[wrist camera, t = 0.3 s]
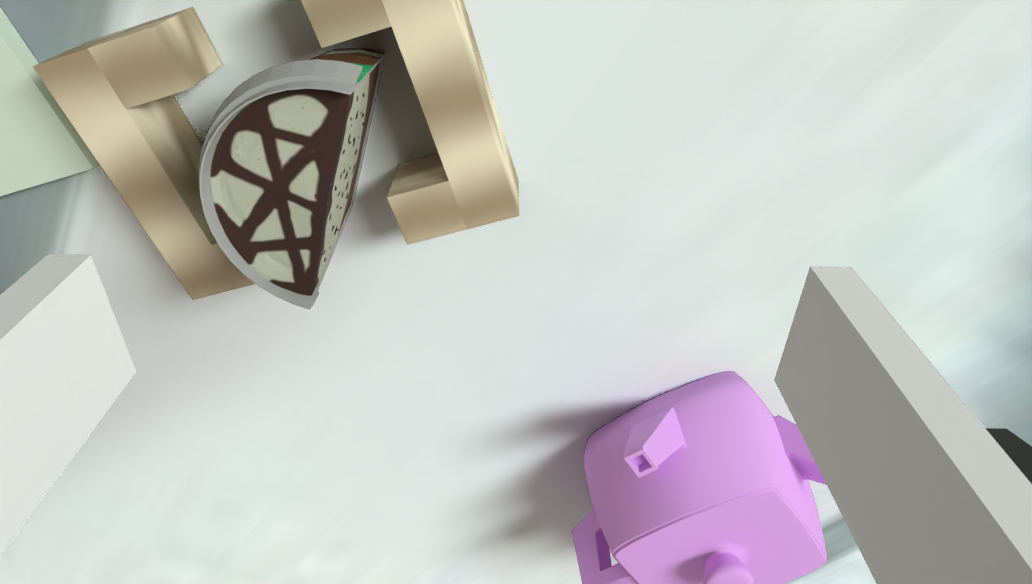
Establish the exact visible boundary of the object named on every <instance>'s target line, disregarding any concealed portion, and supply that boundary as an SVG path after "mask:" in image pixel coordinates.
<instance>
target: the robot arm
mask: <svg viewBox="0 0 1032 584" xmlns="http://www.w3.org/2000/svg"><path fill="white" fill-rule="evenodd" d="M136 372H137V371H136V369H135V366H134V364H133V361H132V358H131V356H130V353H129V351H128V348H127V346H126V343H125V341H124V338H123V336H122V333H121V330H120V328H119V325H118V323H117V320H116V318H115V315H114V313H113V310H112V308H111V305H110V302H109V300H108V297H107V295H106V292H105V290H104V287H103V285H102V282H101V280H100V277H99V274H98V272H97V269H96V267H95V264H94V262H93V259H92V257H91V255H59V254H48V255H47V256H46V257H44V258H43V259H42V260H41V261H40V262H39V263H37V264H36V265H35V266H34V267H33V268H31V269H30V270H29V271H28V272H27V273H26V274H24V275H23V276H22V277H21V278H20V279H19V280H17V281H16V282H15V283H14V284H13V285H12V286H10V287H9V288H8V289H7V290H6V291H4V292H3V293H2V294H1V295H0V557H1V556H2V554H3V553H4V552H5V550H6V549H7V547H8V546H9V545H10V543H11V542H12V541H13V539H14V538H15V537H16V535H17V534H18V532H19V531H20V530H21V528H22V527H23V526H24V524H25V523H26V522H27V520H28V519H29V517H30V516H31V515H32V513H33V512H34V511H35V509H36V508H37V507H38V505H39V504H40V502H41V501H42V500H43V498H44V497H45V496H46V494H47V493H48V492H49V490H50V489H51V487H52V486H53V485H54V483H55V482H56V481H57V479H58V478H59V477H60V475H61V474H62V473H63V471H64V470H65V468H66V467H67V466H68V464H69V463H70V462H71V460H72V459H73V458H74V456H75V455H76V453H77V452H78V451H79V449H80V448H81V447H82V445H83V444H84V443H85V441H86V440H87V438H88V437H89V436H90V434H91V433H92V432H93V430H94V429H95V428H96V426H97V425H98V423H99V422H100V421H101V419H102V418H103V417H104V415H105V414H106V413H107V411H108V410H109V408H110V407H111V406H112V404H113V403H114V402H115V400H116V399H117V398H118V396H119V395H120V393H121V392H122V391H123V389H124V388H125V387H126V385H127V384H128V383H129V381H130V380H131V378H132V377H133V376H134V374H135V373H136ZM775 382H776V384H777V386H778V388H779V390H780V392H781V394H782V396H783V398H784V400H785V402H786V404H787V406H788V408H789V410H790V412H791V414H792V416H793V418H794V420H795V422H796V424H797V426H798V428H799V430H800V432H801V434H802V436H803V438H804V440H805V442H806V444H807V446H808V448H809V450H810V452H811V454H812V456H813V458H814V460H815V462H816V464H817V466H818V468H819V470H820V472H821V474H822V476H823V478H824V480H825V482H826V484H827V486H828V488H829V490H830V492H831V494H832V496H833V498H834V500H835V502H836V504H837V506H838V508H839V510H840V512H841V514H842V516H843V518H844V520H845V522H846V524H847V526H848V528H849V530H850V532H851V534H852V536H853V538H854V540H855V541H856V543H857V545H858V547H859V549H860V551H861V553H862V555H863V557H864V559H865V561H866V563H867V565H868V567H869V569H870V571H871V573H872V575H873V577H874V579H875V581H876V583H877V584H1032V447H1031V446H1030V445H1029V444H1027V443H1026V442H1024V441H1023V440H1022V439H1020V438H1019V437H1017V436H1016V435H1015V434H1013V433H1012V432H1010V431H1009V430H1008V429H990V428H985V427H984V426H983V425H982V424H981V422H980V421H979V420H978V419H977V418H976V416H975V415H974V414H973V413H972V412H971V410H970V409H969V408H968V407H967V406H966V404H965V403H964V402H963V401H962V400H961V398H960V397H959V396H958V395H957V394H956V392H955V391H954V390H953V389H952V387H951V386H950V385H949V384H948V383H947V381H946V380H945V379H944V378H943V377H942V375H941V374H940V373H939V372H938V371H937V369H936V368H935V367H934V366H933V365H932V363H931V362H930V361H929V360H928V359H927V357H926V356H925V355H924V354H923V353H922V351H921V350H920V349H919V348H918V347H917V345H916V344H915V343H914V342H913V341H912V339H911V338H910V337H909V336H908V334H907V333H906V332H905V331H904V330H903V328H902V327H901V326H900V325H899V324H898V322H897V321H896V320H895V319H894V318H893V316H892V315H891V314H890V313H889V312H888V310H887V309H886V308H885V307H884V306H883V304H882V303H881V302H880V301H879V300H878V298H877V297H876V296H875V295H874V294H873V292H872V291H871V290H870V289H869V287H868V286H867V285H866V284H865V283H864V281H863V280H862V279H861V278H860V277H859V275H858V274H857V273H856V272H855V271H854V269H853V268H852V267H816V266H810V269H809V272H808V275H807V278H806V282H805V285H804V288H803V291H802V294H801V297H800V301H799V304H798V307H797V310H796V313H795V316H794V319H793V323H792V326H791V329H790V332H789V335H788V338H787V342H786V345H785V348H784V351H783V354H782V357H781V361H780V364H779V367H778V370H777V373H776V376H775Z"/></svg>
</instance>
